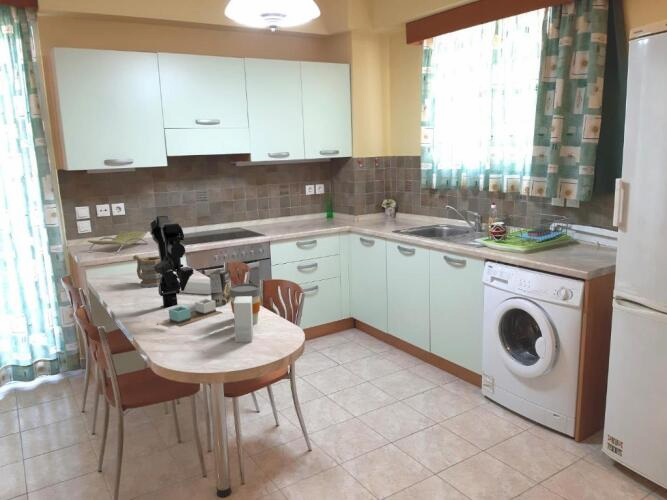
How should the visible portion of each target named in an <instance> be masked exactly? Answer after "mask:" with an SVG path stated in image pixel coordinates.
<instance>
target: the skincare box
mask: <svg viewBox="0 0 667 500" xmlns="http://www.w3.org/2000/svg"><path fill="white" fill-rule="evenodd" d="M233 315H234V322H233V323H234V340H235V341H234V342H235V344H236V343H252V342H253V338H254V325H253V315H252V296H240V297H235V300H234V313H233Z"/></svg>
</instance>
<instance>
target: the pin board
mask: <svg viewBox="0 0 667 500" xmlns="http://www.w3.org/2000/svg"><path fill="white" fill-rule="evenodd" d="M205 303H206V302H204V303H203V304H205ZM178 311H182V310H178ZM221 314H223V311H219V310H216V312H215V313H212V314H209V315H206V316H204V315H200V314H197V313H196V310H193V311H190V315H191V320H190V321H187V322H184V323H181V324H176V323H173V322H170V319H169V318H168V319H164V320H162V322H165V323H167V324H170V325H173V326H175V327H185V326H187V325H191V324H194V323H196V322H200V321H202V320H206V319H208V318H210V317H215V316H217V315H221Z"/></svg>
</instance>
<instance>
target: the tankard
mask: <svg viewBox="0 0 667 500" xmlns="http://www.w3.org/2000/svg"><path fill="white" fill-rule="evenodd" d="M132 259H133V260H134V261H135V260H136V261H137V263H136V264H137V267H136V274H137V277H138V279H139V280H141V282H140V284H139V285H140V287H142V288H146V289H148V288H159V283H160V279H161V277H162V275H161V274H159V273H156V270H155V268H154V266H155V265H156V264H158V263H160V257H159V256H149V257H143V258H142V257H140V256H139V255H137V254H135V255H133V257H132Z"/></svg>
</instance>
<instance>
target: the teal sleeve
mask: <svg viewBox="0 0 667 500" xmlns="http://www.w3.org/2000/svg"><path fill="white" fill-rule="evenodd" d="M178 310H182V311H178ZM190 312H191V308H189V307H186V306H181V305H179V306H177V307H174V308H171V309H170V308H169V309H168V316H169V318H168V319H170V322H173V323H176V324H181V323H184V322H187V321H190V320H191V315H190Z"/></svg>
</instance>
